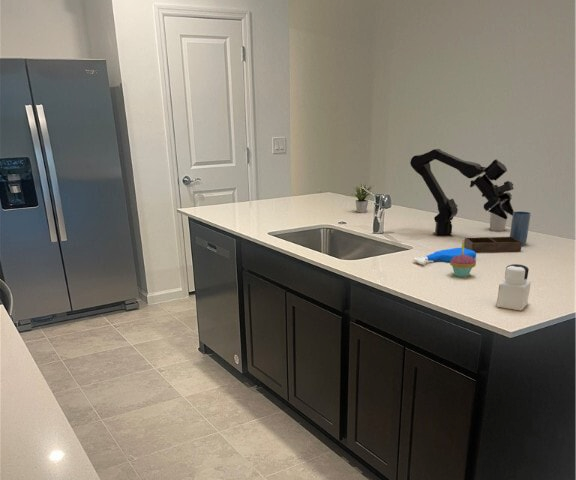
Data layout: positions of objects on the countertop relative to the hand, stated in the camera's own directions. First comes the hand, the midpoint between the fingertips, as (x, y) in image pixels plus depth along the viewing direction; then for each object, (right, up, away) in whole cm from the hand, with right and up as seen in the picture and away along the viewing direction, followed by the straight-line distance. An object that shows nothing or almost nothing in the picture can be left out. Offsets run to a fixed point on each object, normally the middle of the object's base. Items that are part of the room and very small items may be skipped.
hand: (510, 216), depth 230 cm
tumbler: (+4, -11, +2) cm, 12 cm away
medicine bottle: (-27, -41, -69) cm, 85 cm away
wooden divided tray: (-10, -14, -6) cm, 19 cm away
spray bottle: (-34, -21, -21) cm, 45 cm away
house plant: (-51, +19, +78) cm, 96 cm away
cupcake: (-33, -29, -39) cm, 59 cm away
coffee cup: (+5, 0, +28) cm, 29 cm away
